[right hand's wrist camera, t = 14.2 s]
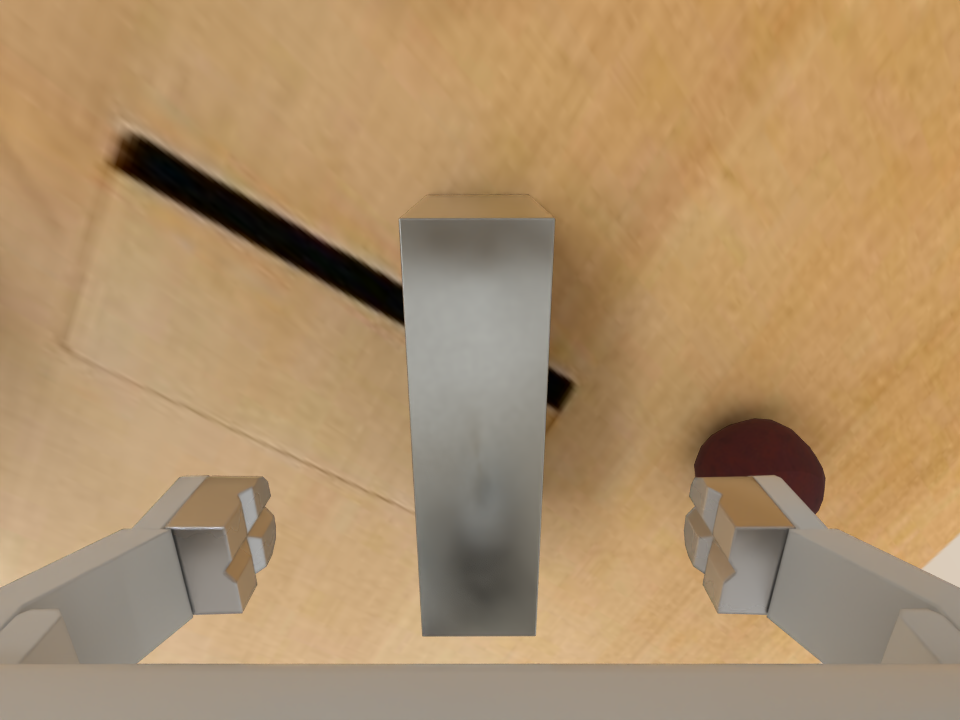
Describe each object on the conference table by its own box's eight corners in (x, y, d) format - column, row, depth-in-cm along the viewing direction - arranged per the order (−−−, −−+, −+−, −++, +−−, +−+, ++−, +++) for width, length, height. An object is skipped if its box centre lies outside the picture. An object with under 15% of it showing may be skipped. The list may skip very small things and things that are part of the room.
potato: (775, 491, 40) (833, 557, 34) (673, 490, 40) (710, 556, 34) (798, 403, 38) (866, 456, 31) (688, 401, 38) (732, 454, 31)
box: (426, 194, 33) (398, 218, 22) (529, 194, 33) (555, 217, 22) (437, 503, 41) (422, 636, 30) (520, 503, 41) (535, 636, 30)
